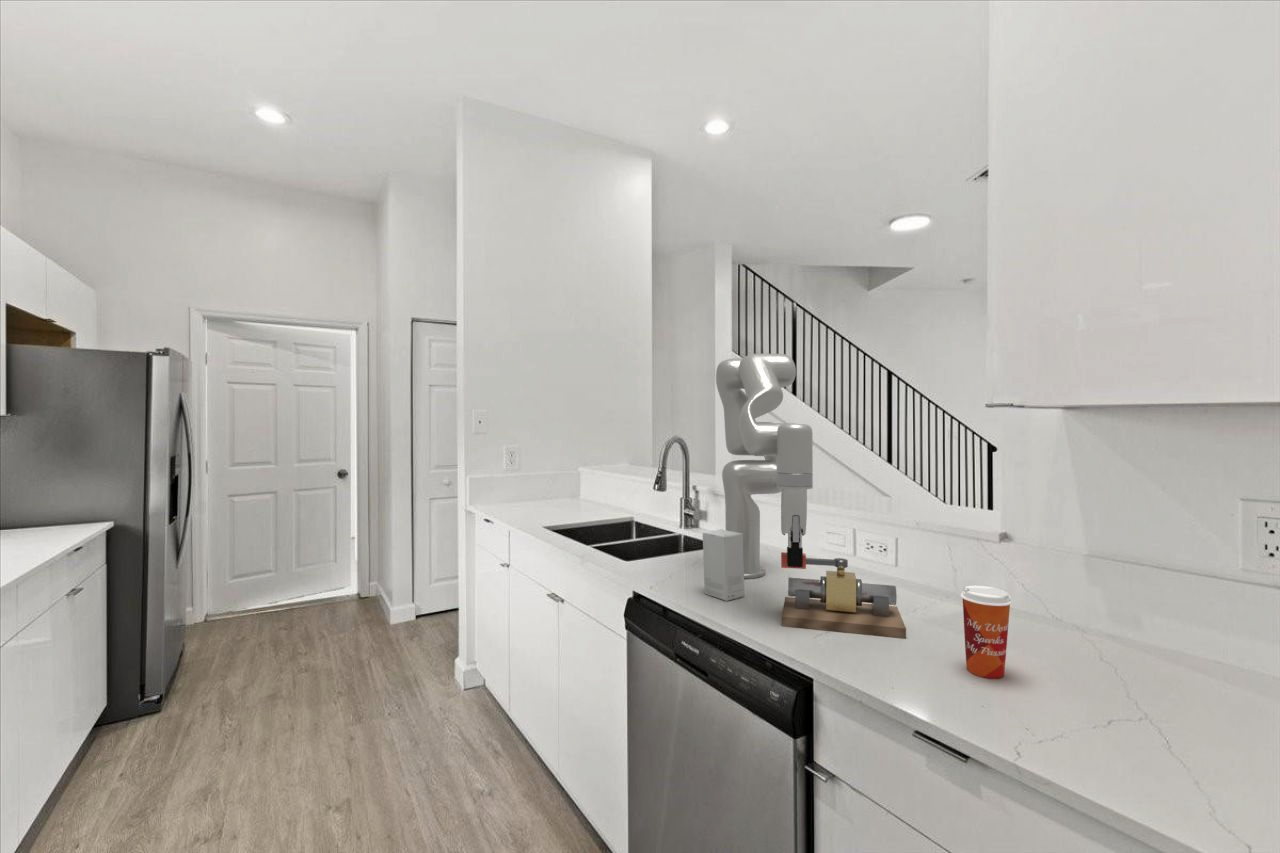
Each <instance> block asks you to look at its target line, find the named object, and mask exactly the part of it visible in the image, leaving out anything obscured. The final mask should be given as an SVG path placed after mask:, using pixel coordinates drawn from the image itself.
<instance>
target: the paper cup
mask: <svg viewBox="0 0 1280 853" xmlns="http://www.w3.org/2000/svg"><path fill="white" fill-rule="evenodd" d="M960 597H961V598H962V610H963V631H964V632H963V633H964V649H965V662H966V663H965V665H966V670H967V671H968V672H969V673H970V674H973V675H975V676H977V677H980V678H983V679H989V680H990V679H992V680H997V679H1002V678H1003V677H1004V675H1005V669H1006V658H1007V648H1008V634H1009V619H1010V607H1011V605H1012V604H1013V603H1014V601H1013V600H1012V599H1011V598H1012V597H1011V595H1009V593H1008V592H1007V591H1006V590H1002V589H1001V588H997V587H992V586H987V585H986V586H985V585H967V586H965V587H963V590H962V592H961V593H960Z"/></svg>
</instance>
